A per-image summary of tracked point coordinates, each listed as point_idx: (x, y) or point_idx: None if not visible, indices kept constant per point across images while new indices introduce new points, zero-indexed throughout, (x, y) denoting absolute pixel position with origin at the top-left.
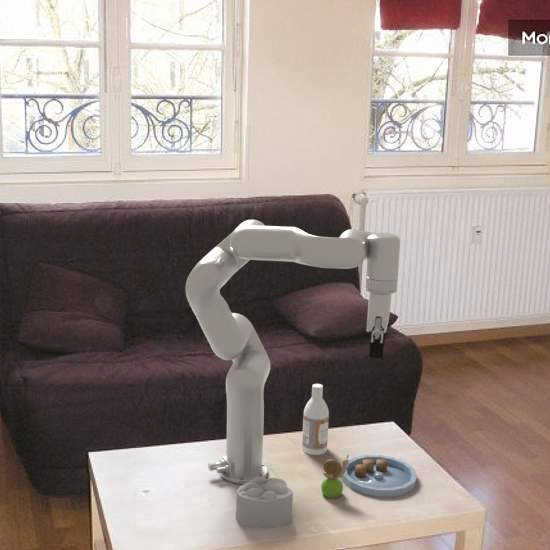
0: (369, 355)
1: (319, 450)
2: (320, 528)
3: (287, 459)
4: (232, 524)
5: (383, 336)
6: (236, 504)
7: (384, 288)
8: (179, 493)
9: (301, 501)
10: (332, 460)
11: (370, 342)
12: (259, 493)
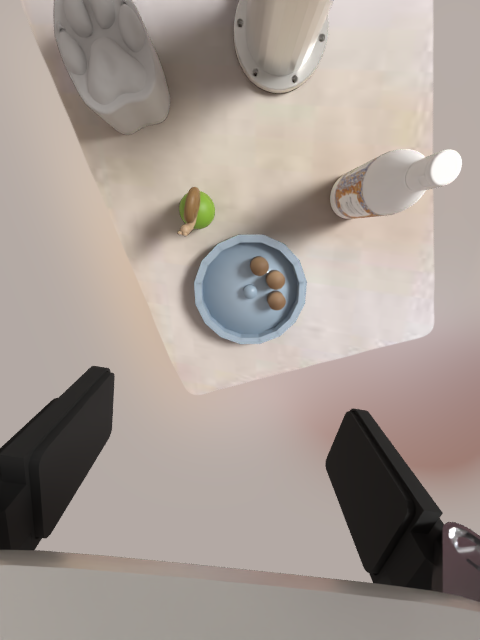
0: (88, 369)
1: (334, 201)
2: (106, 183)
3: (329, 140)
4: None
5: (349, 516)
6: None
7: None
8: None
9: (183, 157)
10: (186, 203)
11: (2, 451)
12: (71, 24)
